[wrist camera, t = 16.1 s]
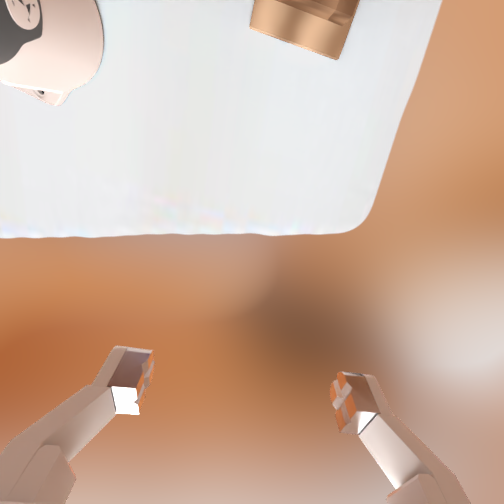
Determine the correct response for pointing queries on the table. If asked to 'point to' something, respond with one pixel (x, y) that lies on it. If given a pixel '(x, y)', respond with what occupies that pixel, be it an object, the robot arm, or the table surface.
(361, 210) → the table surface
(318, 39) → the socket board
